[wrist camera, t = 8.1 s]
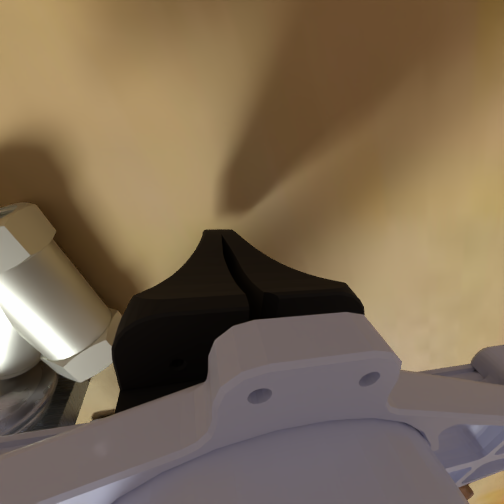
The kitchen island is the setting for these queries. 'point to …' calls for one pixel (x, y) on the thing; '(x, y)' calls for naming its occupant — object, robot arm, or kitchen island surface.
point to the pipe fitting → (47, 303)
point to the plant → (466, 491)
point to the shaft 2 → (39, 401)
